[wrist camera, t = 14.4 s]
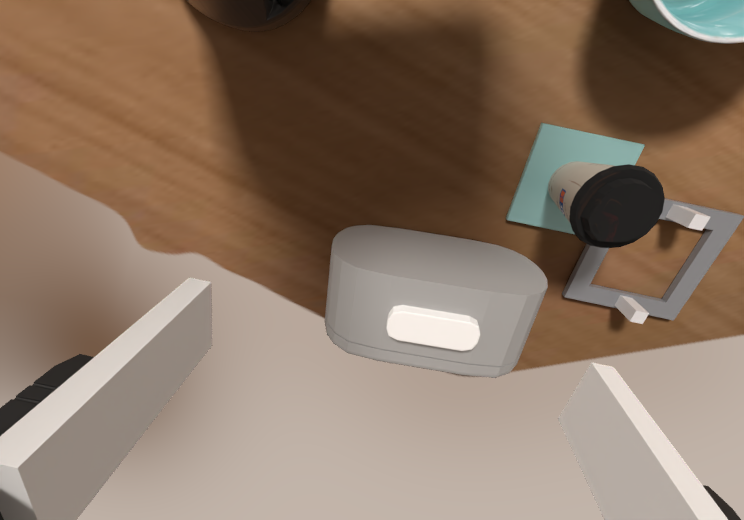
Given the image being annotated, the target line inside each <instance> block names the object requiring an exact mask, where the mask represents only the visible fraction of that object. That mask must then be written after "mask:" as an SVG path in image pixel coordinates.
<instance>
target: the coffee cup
mask: <svg viewBox="0 0 744 520" xmlns="http://www.w3.org/2000/svg"><path fill="white" fill-rule="evenodd" d="M548 192H549V195H550V197H551V199H552V200H553V201H554V202H555V204H556V205H557V206H558V208H559V209H560V210H561V212H562V213H563V214H564V216H565V217H566V218H567V220H568V221H569V222H570V224H571V227H572V231H573V232H574V233H575V234H576V236H577V237H578V238H579V239H580V240H581V241H583V242H585V243H586V244H588V245H590V246H595V247H600V248H613V247H621V246H624V245H627V244H630V243H633V242H635V241H636V240H638V239H639V238H641V237H643V236H644V235H646V234H647V233H648V232H649V231H650V229H651V228H652V227H653V226H654V225H655V224H656V223H657V221H658V219H659V217H660V215H661V214H662V211H663V206H664V201H665V198H664V193H663V187H662V185H661V183H660V182H659V180H658V179H657V177H656V176H655V174H654V173H652V172H650V171H649V170H647V169H645V168H644V167H640V166H635V165H630V164H627V165H619V166H614V165H606V164H597V163H588V162H579V161H575V162H569V163H567V164H564V165H562V166H561V167H559V168H558V169H557V170H556V171H555V172H554V173H553V175H552V176H551V178H550V181H549V183H548Z"/></svg>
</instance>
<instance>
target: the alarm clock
mask: <svg viewBox="0 0 744 520" xmlns="http://www.w3.org/2000/svg"><path fill="white" fill-rule="evenodd" d="M547 287H548V286H547V278H546V276H545V275H544V273H543V271H542V270H541V269H540V268H539V267H538V266H537V265H536V264H535V263H533V262H532V261H531V260H529V259H528V258H527V257H525V256H523V255H521V254H519V253H517V252H515V251H513V250H510V249H507V248H504V247H502V246H499V245H494V244H490V243H485V242H480V241H475V240H470V239H464V238H457V237H451V236H445V235H438V234H432V233H426V232H420V231H413V230H407V229H401V228H393V227H384V226H376V225H359V226H353V227H349V228H345V229H344V230H342V231H340V232H339V233H337V235H336V236H335V237H334V238H333V243H332V249H331V260H330V271H329V282H328V293H327V303H326V314H325V326H326V331H327V335H328V336H329V337H330V339H331V340H332V342H333V343H334V344H335V345H337V346H338V347H340V348H341V349H343V350H344V351H346V352H347V353H350V354H354V355H358V356H362V357H366V358H370V359H373V360H378V361H383V362H389V363H395V364H401V365H407V366H413V367H419V368H424V369H431V370H436V371H442V372H448V373H454V374H460V375H468V376H480V377H491V378H496V377H499V376H502V375H505V374H508V373H509V372H510V371H511V370H512V369H513V368H514V367H515V365H516V364H517V362H518V360H519V357H520V355H521V352H522V350H523V347H524V345H525V342H526V340H527V337H528V335H529V332H530V330H531V327H532V325H533V322H534V320H535V317H536V315H537V312H538V310H539V307H540V305H541V302H542V300H543V297H544V295H545V292H546V290H547Z"/></svg>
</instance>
